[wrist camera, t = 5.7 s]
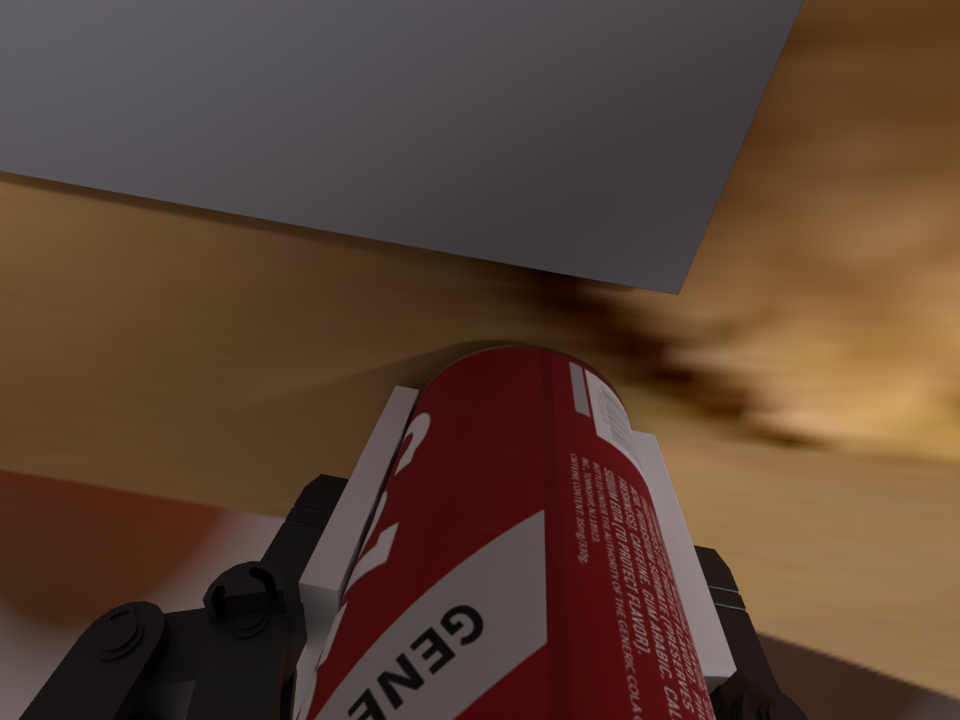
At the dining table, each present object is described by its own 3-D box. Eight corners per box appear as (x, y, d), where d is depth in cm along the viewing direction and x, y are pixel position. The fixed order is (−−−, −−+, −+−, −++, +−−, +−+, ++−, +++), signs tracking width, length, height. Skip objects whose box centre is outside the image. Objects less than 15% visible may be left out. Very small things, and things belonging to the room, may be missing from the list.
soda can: (613, 312, 12) (1050, 1511, 2) (633, 484, 15) (833, 1264, 5) (390, 353, 14) (-53, 1137, 3) (452, 501, 17) (323, 1131, 7)
